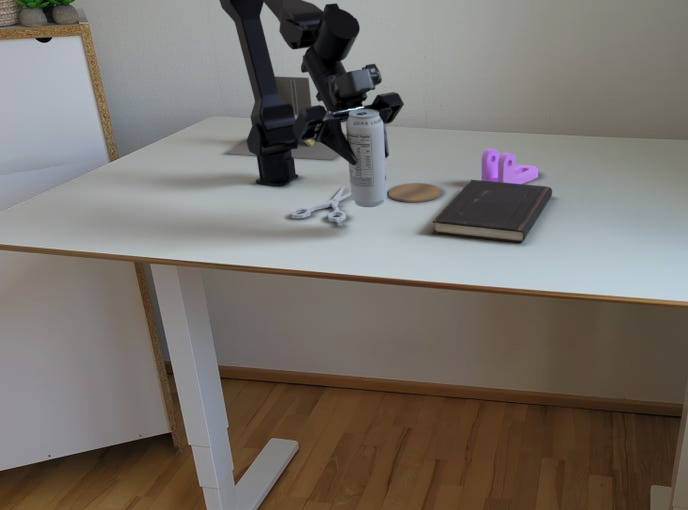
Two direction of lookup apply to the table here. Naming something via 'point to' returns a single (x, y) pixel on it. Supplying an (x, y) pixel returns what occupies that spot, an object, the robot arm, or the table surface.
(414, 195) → the coaster
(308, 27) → the robot arm
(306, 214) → the scissors
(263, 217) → the table surface
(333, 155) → the architectural model
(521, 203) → the hardcover book
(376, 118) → the energy drink can
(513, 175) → the bracket
